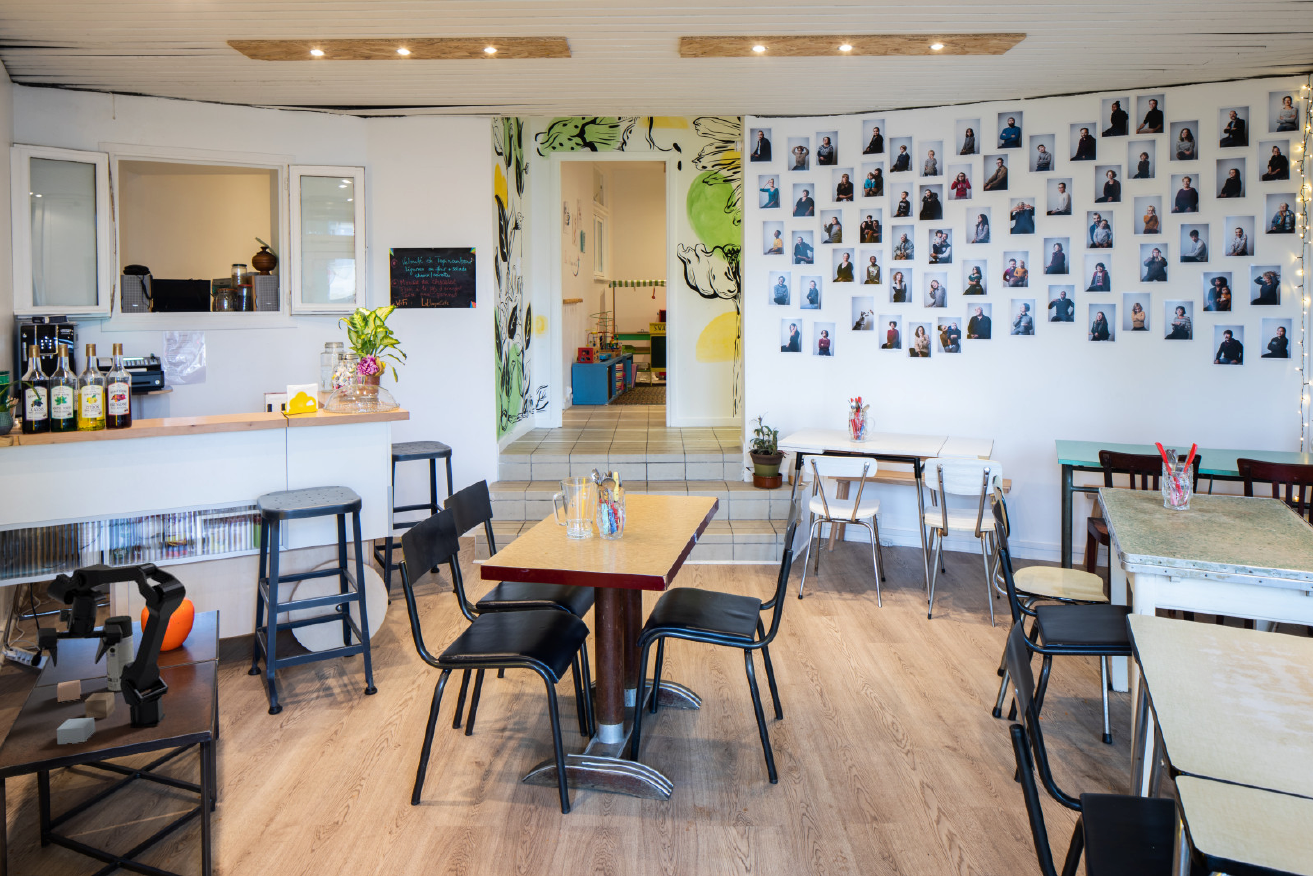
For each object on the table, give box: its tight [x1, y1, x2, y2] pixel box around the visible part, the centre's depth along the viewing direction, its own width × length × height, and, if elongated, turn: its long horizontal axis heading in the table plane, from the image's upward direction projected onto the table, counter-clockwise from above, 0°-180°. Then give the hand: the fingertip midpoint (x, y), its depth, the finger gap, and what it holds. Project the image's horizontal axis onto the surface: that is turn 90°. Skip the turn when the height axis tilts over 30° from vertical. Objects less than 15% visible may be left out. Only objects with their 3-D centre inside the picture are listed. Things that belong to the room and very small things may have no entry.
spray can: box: [104, 615, 135, 692], centre depth 255 cm, size 7×7×20 cm
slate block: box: [56, 717, 96, 745], centre depth 224 cm, size 6×6×4 cm
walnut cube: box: [84, 691, 116, 719], centre depth 237 cm, size 5×5×5 cm
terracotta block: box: [56, 679, 82, 703], centre depth 248 cm, size 5×5×4 cm
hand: (75, 664), depth 239 cm, fingers open, 9 cm apart
